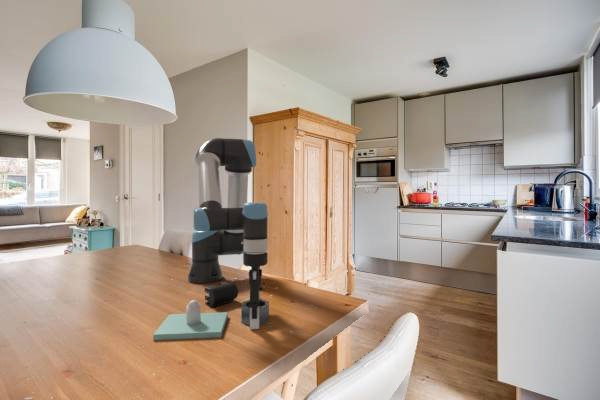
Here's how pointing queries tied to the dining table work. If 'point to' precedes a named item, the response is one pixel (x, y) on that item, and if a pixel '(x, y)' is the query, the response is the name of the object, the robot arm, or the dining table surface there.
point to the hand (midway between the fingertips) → (255, 319)
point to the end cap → (221, 293)
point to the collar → (262, 312)
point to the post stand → (192, 324)
